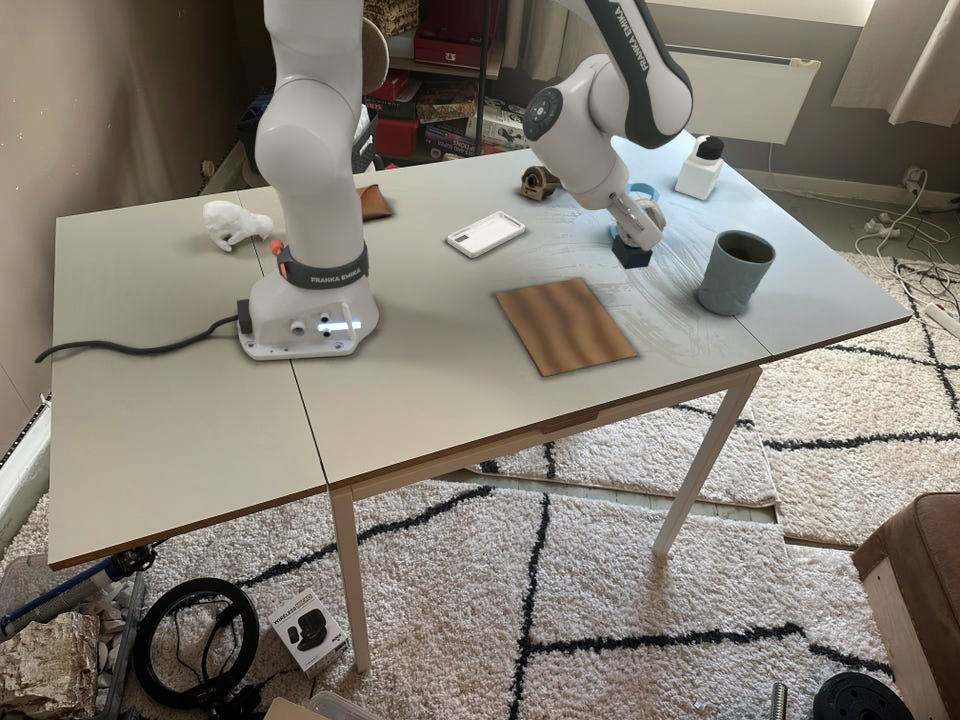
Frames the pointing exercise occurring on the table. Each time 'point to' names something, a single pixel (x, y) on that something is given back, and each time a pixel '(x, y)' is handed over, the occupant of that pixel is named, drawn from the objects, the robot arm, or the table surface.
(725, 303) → the grey-green cylindrical cup
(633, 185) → the chair
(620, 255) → the watch
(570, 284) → the wooden board
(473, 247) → the phone case
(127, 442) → the table surface
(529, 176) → the mechanical counter
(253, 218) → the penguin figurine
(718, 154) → the medicine bottle
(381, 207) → the sunglasses case
